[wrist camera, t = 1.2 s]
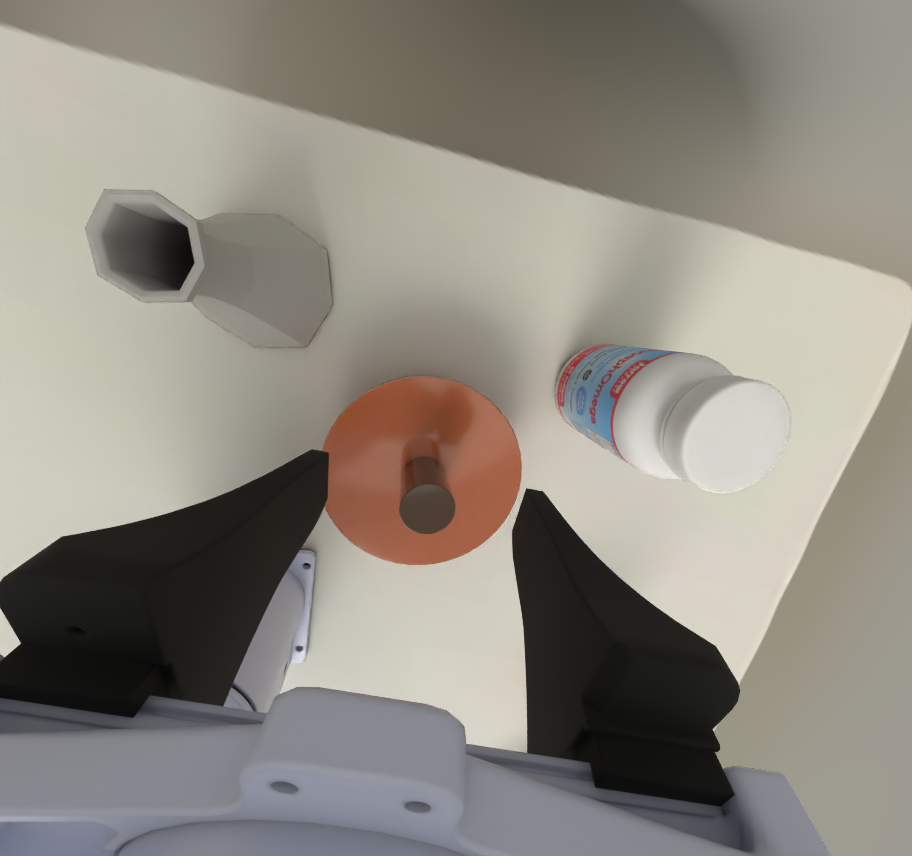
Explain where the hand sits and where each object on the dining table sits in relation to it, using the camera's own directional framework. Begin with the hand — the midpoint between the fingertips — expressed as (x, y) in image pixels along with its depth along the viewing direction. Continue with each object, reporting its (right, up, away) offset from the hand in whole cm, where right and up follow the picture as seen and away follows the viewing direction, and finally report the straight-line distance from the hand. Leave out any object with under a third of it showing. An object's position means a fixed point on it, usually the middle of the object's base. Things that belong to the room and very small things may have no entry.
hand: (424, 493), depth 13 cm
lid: (-1, 0, +7) cm, 7 cm away
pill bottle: (+11, +5, +12) cm, 17 cm away
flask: (-9, +10, +7) cm, 16 cm away
